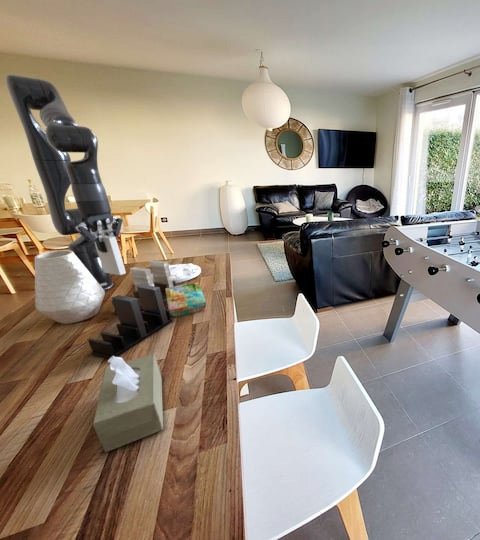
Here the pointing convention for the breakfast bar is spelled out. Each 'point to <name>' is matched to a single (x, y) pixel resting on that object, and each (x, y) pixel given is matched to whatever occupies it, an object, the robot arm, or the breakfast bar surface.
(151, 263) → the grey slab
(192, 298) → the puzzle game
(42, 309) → the vase
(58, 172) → the robot arm
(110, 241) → the white book
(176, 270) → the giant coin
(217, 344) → the breakfast bar surface
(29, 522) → the breakfast bar surface
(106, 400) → the tissue box
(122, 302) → the grey rack
